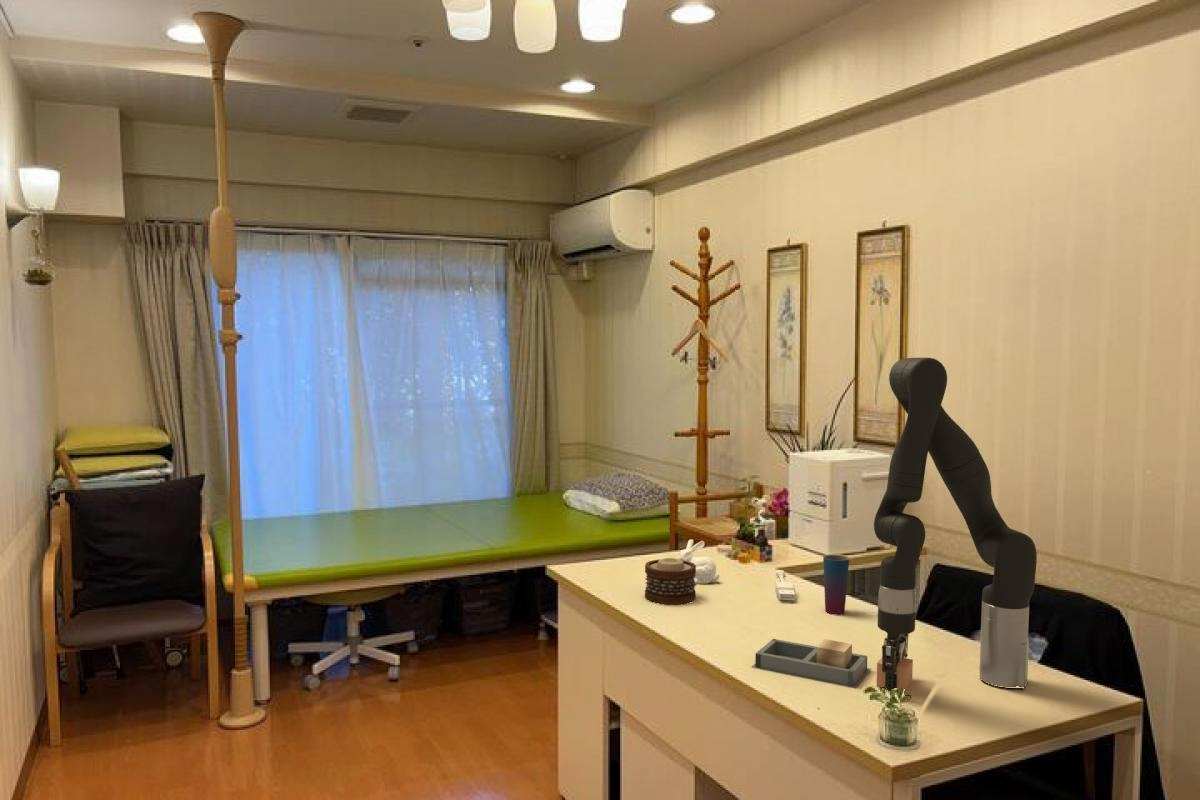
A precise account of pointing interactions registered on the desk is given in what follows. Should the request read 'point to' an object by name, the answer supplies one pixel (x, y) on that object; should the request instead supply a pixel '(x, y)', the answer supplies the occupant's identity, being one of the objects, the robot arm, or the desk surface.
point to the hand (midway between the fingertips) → (894, 685)
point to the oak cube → (835, 654)
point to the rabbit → (700, 564)
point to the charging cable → (784, 587)
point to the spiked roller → (670, 581)
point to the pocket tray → (808, 664)
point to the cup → (835, 582)
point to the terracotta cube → (902, 676)
